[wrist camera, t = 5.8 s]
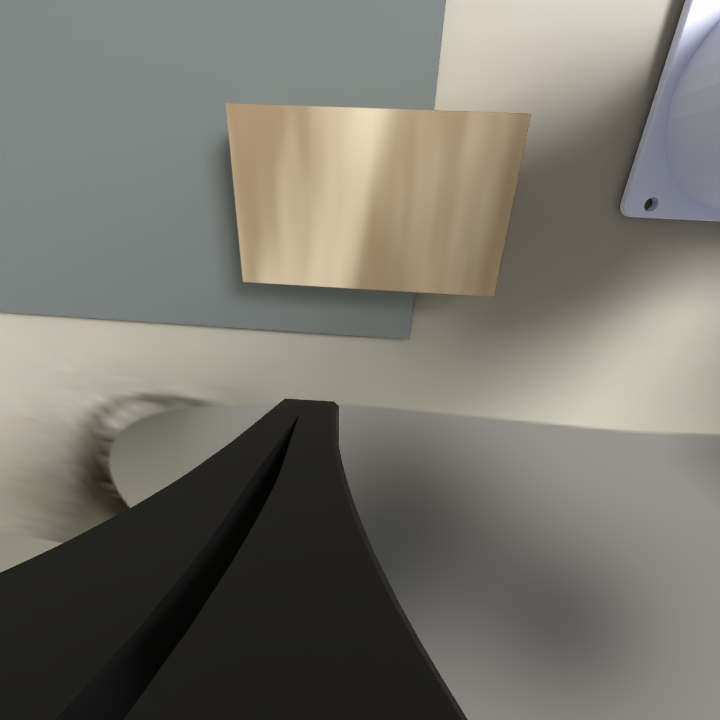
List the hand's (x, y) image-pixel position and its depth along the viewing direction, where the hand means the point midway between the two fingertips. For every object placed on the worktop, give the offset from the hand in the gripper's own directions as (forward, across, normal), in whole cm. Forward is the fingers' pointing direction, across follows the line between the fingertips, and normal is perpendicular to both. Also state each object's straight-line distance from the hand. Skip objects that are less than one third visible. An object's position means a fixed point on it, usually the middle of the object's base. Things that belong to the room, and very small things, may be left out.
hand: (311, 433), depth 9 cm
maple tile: (+8, +4, -5) cm, 10 cm away
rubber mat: (+10, +8, -7) cm, 15 cm away
